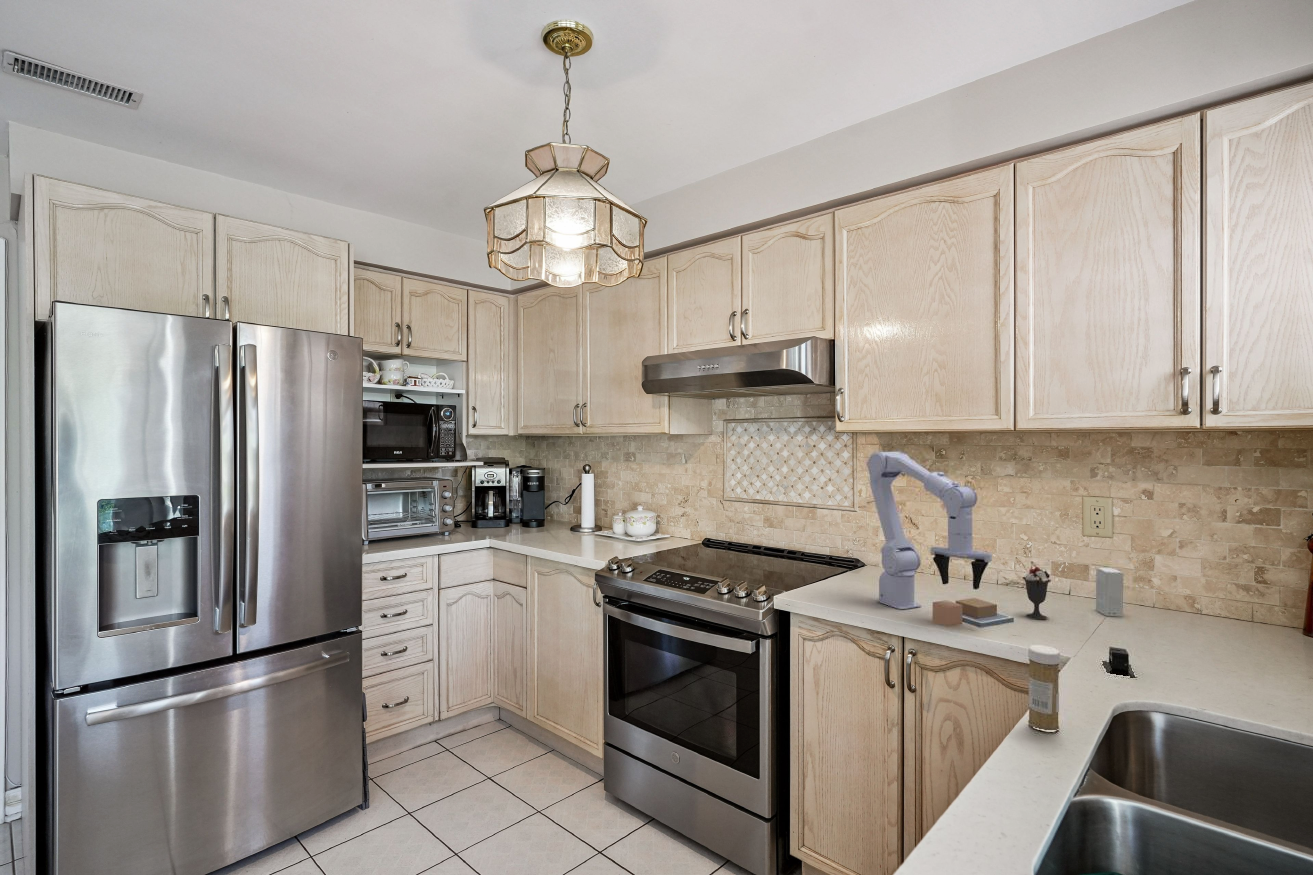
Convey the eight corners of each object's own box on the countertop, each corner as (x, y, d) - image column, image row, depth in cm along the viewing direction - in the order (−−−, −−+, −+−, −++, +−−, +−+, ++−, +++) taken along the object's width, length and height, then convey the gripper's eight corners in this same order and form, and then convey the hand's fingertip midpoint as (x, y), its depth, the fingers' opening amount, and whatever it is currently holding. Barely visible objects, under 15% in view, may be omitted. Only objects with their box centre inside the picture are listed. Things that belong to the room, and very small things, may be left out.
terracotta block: (932, 621, 166) (932, 602, 166) (946, 618, 168) (946, 600, 168) (948, 626, 161) (948, 607, 161) (962, 624, 163) (962, 605, 163)
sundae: (1022, 618, 168) (1022, 561, 168) (1022, 612, 174) (1022, 557, 174) (1051, 621, 165) (1051, 563, 165) (1050, 615, 170) (1050, 559, 171)
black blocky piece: (1094, 659, 140) (1094, 638, 140) (1135, 665, 137) (1135, 644, 136) (1102, 678, 129) (1102, 656, 129) (1146, 686, 126) (1147, 663, 126)
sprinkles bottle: (1065, 730, 106) (1066, 651, 106) (1047, 736, 104) (1048, 654, 104) (1039, 719, 110) (1040, 642, 110) (1021, 724, 108) (1022, 645, 108)
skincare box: (1123, 617, 169) (1124, 572, 169) (1105, 616, 170) (1106, 571, 170) (1112, 610, 175) (1112, 567, 175) (1094, 609, 176) (1095, 567, 176)
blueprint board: (939, 613, 172) (939, 598, 172) (971, 608, 177) (971, 594, 177) (981, 627, 161) (981, 611, 160) (1013, 621, 165) (1013, 606, 165)
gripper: (925, 532, 166) (925, 584, 166) (984, 538, 155) (984, 593, 155) (936, 529, 171) (937, 579, 171) (994, 535, 160) (995, 588, 160)
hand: (960, 586), depth 163 cm, fingers open, 7 cm apart
